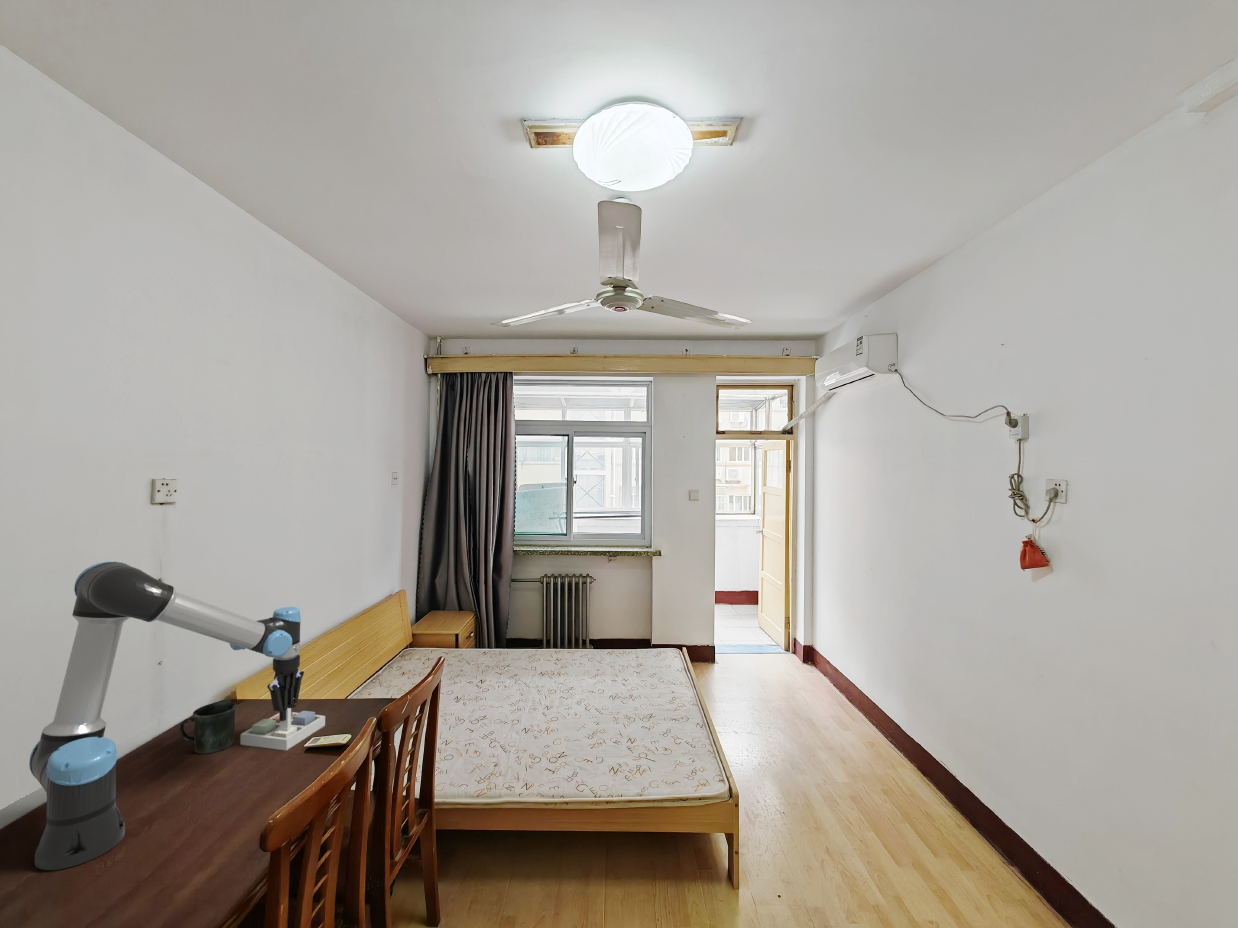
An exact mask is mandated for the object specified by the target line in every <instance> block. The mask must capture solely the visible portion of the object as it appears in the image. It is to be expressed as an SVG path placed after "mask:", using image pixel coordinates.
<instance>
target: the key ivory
mask: <svg viewBox="0 0 1238 928" xmlns="http://www.w3.org/2000/svg"><path fill="white" fill-rule="evenodd" d="M295 732H297V727H291V729H289V730H288V731H287V730H280V729H279V730H277V731H275V732H274V737H282V738H287V737H289V736H291V735H292V734H294V733H295Z"/></svg>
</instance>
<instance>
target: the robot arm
mask: <svg viewBox="0 0 1238 928" xmlns="http://www.w3.org/2000/svg"><path fill="white" fill-rule="evenodd" d="M77 576H78V577H77V578H76V580H75V582H74V589H73V590H74V595H75V598H76V599H75V602H74V606H73V611H72V614H71V616H72V618H73V619H75V620H76V621H77V627H76V631H75V634H74V635H75V636H74V638H73V639H74V640H73V644H72V647H71V651H70V655H69V659H68V663H67V667H66V670H65V675H64V679H63V683H62V687H61V690H60V694H59V698H58V703H57V707H56V710H55V713H54V717H53V721H51V722H50V723H49V724H48V725H46V726H44V727H43V729H42V730H41V731H42V732H41V735H40V738H39V741H38V742H37V743H36V744H35V745H34V747H33V748H32V751H31V753H30V755H29V765H28V766H29V771H30V772H31V774H32V776H33V777H34V778H35V779H36V780H37V782H38V783H39V785H41V787H42V788H43V790H44V791H45V793H46V825H45V828H44V830H43V833H42V835H41V838H40V840H39V843H38V846H37V848H36V850H35V852H34V865H35V867H36V868H37V869H38V870H42V871H57V870H64V869H69V868H72V867H76V866H78V865H81V864H84V863H87V862H90V861H92V860H94V859H96V858H99V857H100V856H103V854H105V853H107V852H109V851H110V850H112V849H113V848H115V847H116V846H118V844H119V843H120V842H122V840H123V838H124V837H125V832H126V824H125V820H124V818H123V817H122V814H121V812H120V810H119V808H118V806H117V803H116V802H117V801H116V800H117V799H116V797H117V796H116V795H117V760H118V750H117V746H116V743H115V741H113V740H112V739H110V738H109V737H104V735H105V731H106V726H107V722H106V721H105V720H104V719H102V718H101V716H102V712H103V708H104V705H105V699H106V695H107V692H108V687H109V683H110V679H111V675H112V670H113V668H114V667H113V666H114V663H115V658H116V655H117V650H118V646H119V642H120V637H121V633H122V629H123V625H124V622H126V621H127V620H128V619H130V618H131V619H132V618H133V619H135V620H140V621H143V622H146V623H152V622H156V621H158V622H161V623H165V624H168V625H171V626H174V627H177V628H181V629H183V630H187V631H190V632H193V633H196V634H200V635H203V636H206V637H209V638H212V639H215V640H219V641H222V642H225V643H227V644H228V643H229V647H230V648H231V649H232V650H234V651H240V650H243V651H244V650H246V649H247V650H249V651H252V652H255V653H259V654H262V655H264V656H266V657H268V658H273V659H272V670H273V672H274V676H273V681H272V683H268V684H267V686H266V687H267V689H268V691H269V693H270V698H271V703H272V704H271V705H272V709H273V711H274V712H278V713H279V716H280V717H279V720H280V730H287V731H288V730H289V729H291V717H292V712H293V709H294V708H295V707H296V704H297V703H298V701H299V695H300V691H301V685H302V681H303V677H304V674H305V672H304V671H301V670H299V667H300V666H301V655H300V653H301V651H300V650H301V622H302V620H301V619H302V618H301V609H299V608H298V607H295V606H286V607H279V608H277V609H276V608H275V610H274V611H273V614H272V617H269V618H264V619H259V620H254V619H251V618H249V617H245V616H243V615H240V614H238V613H235V612H233V611H230V610H226V609H225V608H222V607H221V608H220V607H218V606H216V605H213V604H210V603H208V602H204V601H202V600H199V599H197V598H193V597H192V596H191V597H190V596H187V595H186V594H183V593H180V592H177V591H176V588H175V586H173V585H171V584H167V583H165V582H163V581H161V580H159V579H157V578H155V577H153V576H151V575H150V574H148V573H146V572H144V571H142V570H141V569H139V568H137V567H133V566H130V565H129V564H127V563H124V562H120V561H119V562H118V561H102V562H98V563H95V564H93V565H91V566H88V567H87V568H85V569H84V570H83V571H82V572H80V574H79V575H77Z"/></svg>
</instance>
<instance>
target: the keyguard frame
mask: <svg viewBox="0 0 1238 928" xmlns="http://www.w3.org/2000/svg"><path fill="white" fill-rule="evenodd" d="M298 713H299V712H296V711H295V712H294V711H292V714H295V715H297V714H298ZM278 715H279V712H278V713H277V714H274V715H273V716H271V717H269V718H268V719H270V720H272V719H273V718H274V717H276V716H278ZM325 726H326V715H320V714H315V720H313V721H311V722H310V723H308V724H306V725H296V724H293V719H292V720H291V727H297V732H295V733H294V734H292V735H291V736H289V737H287V738H282V737H274V732H275V731H277V730H279V729H280V723H276V728H275V729H273V730H271V731H270V732H268V733H266V734H257V733H252V727H251V728H249V729H248V730H246V731H244V732H242V733H240V746H247V747H253V748H255V747H256V748H263V749H268V750H269V749H270V750H279V751H284V752H285V751H289V750H290V749H291V748H293V747H295V746H296V745H298V744H300V743H301V742H302V741H304V740H305V739H307V738H309V737H310V736H312V735H313V734H314V733H316V732H317V731H320V729H323V728H325Z"/></svg>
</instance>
